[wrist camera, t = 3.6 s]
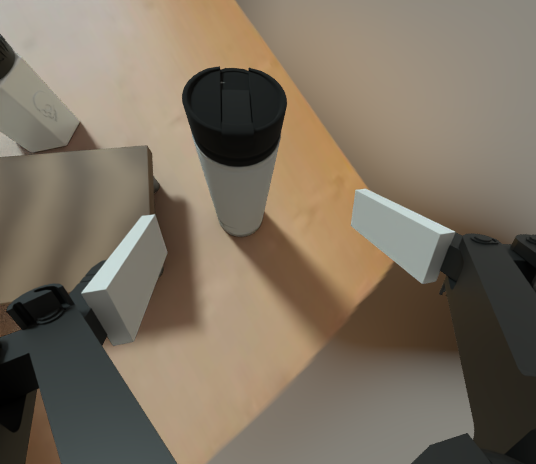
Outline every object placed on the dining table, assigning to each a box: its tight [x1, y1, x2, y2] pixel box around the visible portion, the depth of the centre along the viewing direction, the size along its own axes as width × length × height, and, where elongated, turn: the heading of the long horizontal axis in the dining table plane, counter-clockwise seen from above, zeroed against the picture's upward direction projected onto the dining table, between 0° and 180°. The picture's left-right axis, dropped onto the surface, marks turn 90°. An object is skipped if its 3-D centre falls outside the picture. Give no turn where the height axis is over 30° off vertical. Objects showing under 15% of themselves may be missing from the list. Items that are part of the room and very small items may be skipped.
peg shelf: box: [0, 145, 163, 306], centre depth 26 cm, size 16×16×6 cm
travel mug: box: [182, 66, 287, 237], centre depth 22 cm, size 6×7×20 cm
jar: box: [0, 34, 80, 153], centre depth 27 cm, size 9×8×12 cm
